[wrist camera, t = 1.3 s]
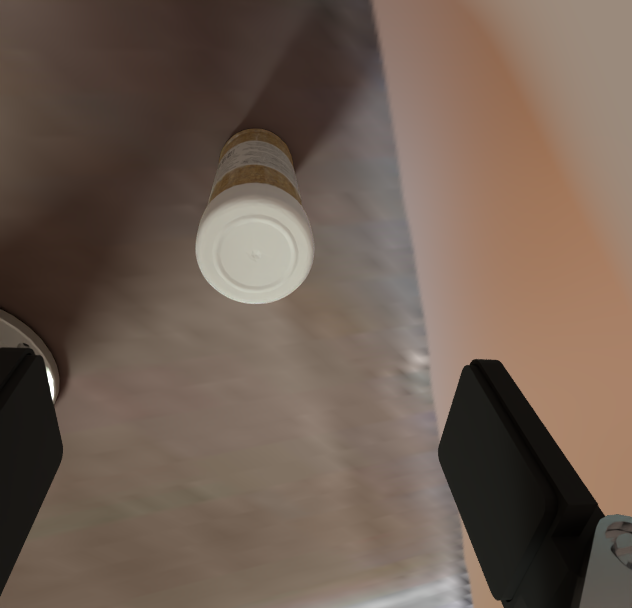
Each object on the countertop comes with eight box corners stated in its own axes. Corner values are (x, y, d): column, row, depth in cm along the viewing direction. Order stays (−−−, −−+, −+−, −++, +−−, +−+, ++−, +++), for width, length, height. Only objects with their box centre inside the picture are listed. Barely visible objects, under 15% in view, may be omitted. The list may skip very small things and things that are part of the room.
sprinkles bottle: (257, 215, 32) (257, 328, 20) (202, 163, 30) (167, 256, 18) (309, 165, 30) (340, 255, 19) (255, 108, 28) (253, 170, 17)
